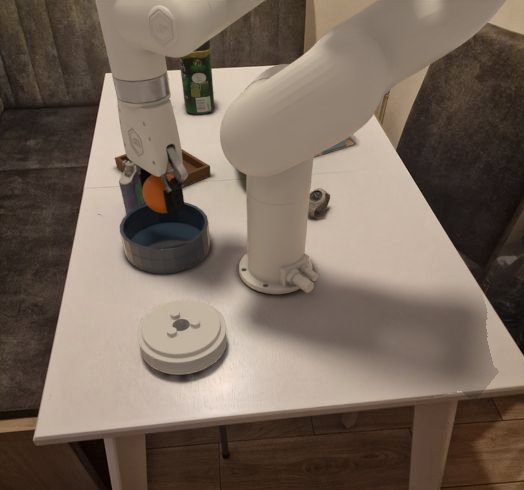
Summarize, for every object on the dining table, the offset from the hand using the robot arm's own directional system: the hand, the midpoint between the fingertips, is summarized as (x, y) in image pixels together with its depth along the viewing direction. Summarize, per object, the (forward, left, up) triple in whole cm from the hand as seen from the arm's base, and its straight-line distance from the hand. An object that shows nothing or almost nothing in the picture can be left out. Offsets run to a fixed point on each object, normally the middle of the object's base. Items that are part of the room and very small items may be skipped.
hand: (163, 201), depth 81 cm
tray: (+25, -15, -9) cm, 30 cm away
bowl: (+1, 0, -9) cm, 9 cm away
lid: (-21, +12, -10) cm, 26 cm away
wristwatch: (-9, -29, -10) cm, 32 cm away
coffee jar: (+48, -42, -10) cm, 64 cm away
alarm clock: (+12, -52, -10) cm, 54 cm away
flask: (+14, -2, -10) cm, 17 cm away
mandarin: (0, 0, +1) cm, 1 cm away
